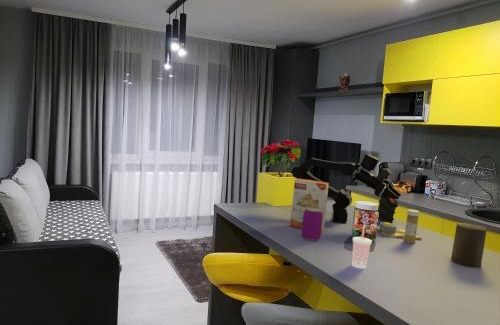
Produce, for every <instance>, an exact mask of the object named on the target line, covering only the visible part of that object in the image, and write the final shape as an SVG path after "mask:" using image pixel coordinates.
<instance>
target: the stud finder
mask: <svg viewBox="0 0 500 325" xmlns="http://www.w3.org/2000/svg"><path fill="white" fill-rule="evenodd" d="M379 227H380V228H379V229H380V230H381V231H382V232H384V233H391V234H395V233H396V229H397V227H396V225H394V224H393V222H392V223H387V222H385V221H383V222H382V221H380V222H379Z"/></svg>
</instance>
